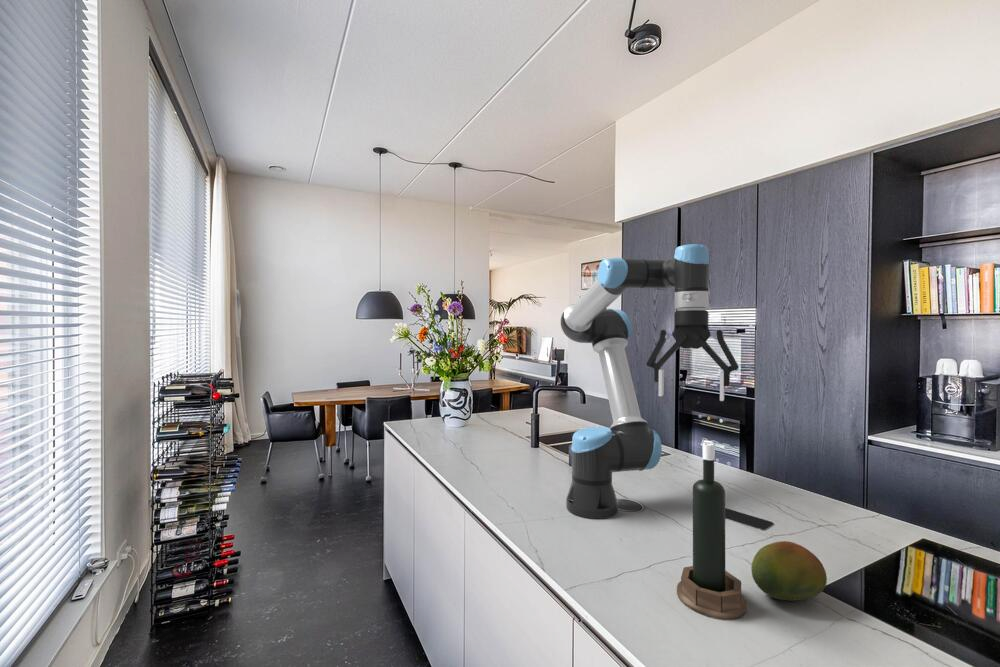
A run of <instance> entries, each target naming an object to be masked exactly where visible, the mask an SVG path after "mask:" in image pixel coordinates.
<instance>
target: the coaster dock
mask: <svg viewBox="0 0 1000 667" xmlns="http://www.w3.org/2000/svg"><path fill="white" fill-rule="evenodd" d="M676 595H677V597H678V599H679V601H680V602H681V603H682V604H683V605H684V606H686V607H687V608H688V609H689V610H691V611H694V612H695V613H697V614H700V615H702V616H705V617H709V618H713V619H718V620H735V619H740V618H742V617H743V616H745V615H746V614H747V611H748V601H747V599H746V597H745V596H744V595H743V593H742V581H741V580H740V579H738V577H736V576H734V574H733V575H732V573H730V572H728V571H727V570H725V591H724V592H716V591H712V590H708V589H704V588H700V587H699V586H697V585H696V584H695V583H693V565H690V566H684V567H683V569H682V572H681V576H680V581H679V582H678V583H677V585H676Z"/></svg>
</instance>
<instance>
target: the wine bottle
mask: <svg viewBox="0 0 1000 667" xmlns="http://www.w3.org/2000/svg"><path fill="white" fill-rule="evenodd" d="M715 446H716V445H715V443H714V441H713V440H711V441H710V440H703V443H702V477H703V478H702V479H699V480H696V481H695V482H694V484H693V486H692V566H693V583H695V584H696V585H697V586H699V587H700V588H704V589H708V590H712V591H716V592H724V591H725V571H726V519H725V508H726V490H725V488H724V486H723V485H722V484H721V483H720V482H718V481H716V480H715V458H716V455H715V450H716V447H715Z"/></svg>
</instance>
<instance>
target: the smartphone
mask: <svg viewBox="0 0 1000 667" xmlns="http://www.w3.org/2000/svg"><path fill="white" fill-rule="evenodd" d="M725 520H728V521H730V522H733V523H737V524H740V525H744V526H745V527H749V528H752V529H755V530H759V531H764V532H765V531H767V530H768V529H770V528H771V527H772V526H774V525H775V523H774V522H772V521H770V520H767V519H764V518H760V517H757V516H754V515H750V514H746V513H743V512H740V511H736V510H733V509H730V508H727V507H725Z"/></svg>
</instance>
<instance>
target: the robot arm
mask: <svg viewBox="0 0 1000 667" xmlns="http://www.w3.org/2000/svg"><path fill="white" fill-rule="evenodd" d="M709 256H710V255H709V247H708V246H707V245H705V244H697V243H695V244H694V243H693V244H692V243H691V244H684V245H680V246H677V247H675V249H674V256H673V257H672V258H668V259H652V258H651V259H650V258H647V259H645V258H626V257H625V258H622V257H611V258H608V257H607V258H605V259H602V260H601V261H600V263H599V267H598V269H597V279H596V280H595V282H594V283H593V284H591V286H590V287H589V288H588V289H587V290H586V291H585V292H584V294H583V295H581V297H580V298H578V300H577V301H576V303H573V304H570V305H568V306H567V307H566V308H565V310H564V311H563V312H562V314H561V316H560V328H561V330H562V332H563V334H564V335H565V337H567V338H568V339H570V340H571V341H573V342H575V343H580V344H591V345H592V351H593V352H595V353H596V354H598V357H599V361H600V365H601V370H602V375H603V380H604V384H605V389H606V393H607V398H608V403H609V407H610V414H611V416H612V424H611V425H610V427H606V426H590V427H583V428H581V429H579V430H576V431H575V432H574V433H573V435H572V436H571V437H572V441H571V447H570V448H571V478H572V479H571V484H570V486H569V488H568V489H569V490H568V493H567V496H566V499H565V501H566V502H565V507H566V509H567V510H568V512H570V513H572V514H573V515H575V516H578V517H582V518H588V519H606V518H607V519H608V518H611V517H613V516H616V515H617V514H618V513H619V501H618V498H617V494H616V492H615V488H614V486H613V473H618V472H630V471H632V472H633V471H639V472H640V471H641V472H642V471H644V470H645V471H646V470H652V469H654V468H656V467H657V465H658V464H659V462H660V460H661V456H662V450H663V449H662V448H663V447H662V440H661V437H660V435H659V434H658V432H657V431H656V430H654V429H651V428H649V427H650V426H649V422H648V421H647V420H645V419H643V418H642V416H641V412H640V411H641V410H640V407H639V404H638V399H637V395H636V390H635V387H634V382H633V379H632V374H631V371H630V370H631V369H630V366H629V361H628V357H627V354H626V347H627V346H628V344H629V342H628V341H629V340H630V339H631V336H632V331H631V330H632V323H631V320H630V317H629V315H627V313H626V312H625V311H623V310H621V309H614V308H608V307H610V305H611V304H612V303H613V302H615V301H616V300H617V299H618V298H619V297H620V296H621V295H622V294H623V293H625V292H626V291H627V290H628V289H653V290H656V291H666V290H668V289H674V309H676V311H675V312H674V315H673V316H674V317H673V318H674V326H673V330H667V329H662V330H660V335H659V339H658V341H657V342H656V344H655V347H654V348H653V351H652V352H651V355H650V356H649V358H648V360H647V362H646V366H647V367H649V368H652V369H653V372H654V374H653V375H654V377H653V378H654V382H655V383H658V397H663V396H664V394H665V392H664V390H665V386H664V384H665V380H664V379H665V369H664V368H661V367H663V366H664V365H665V363H667V361H669V359H670V358H671V357H672V356H673V355H674V353H676V352H677V350H679V348H682V349H694V350H696V349H700V348H702V349H703V351H705V352H706V354H708V356H710V358H711V359H712V360H713V362H715V364H717V365H718V366H719V368H721V370H722V371H720V372H719V401H720V402H724V400H725V387H729V386H730V384H731V380H730V379H731V372H734V371H738V370H739V364H738V363H737V361H736V359H735V357H734V355H733V353H732V351H731V350H730V348H729V346H728V344H727V342H726V341H725V339H724V331H723V330H722V329H718V330H712V331H710V329H709V311H708V310H706V309H709V296H710V295H709V287H710V285H709V284H710V282H709V281H710V279H709V278H710V276H709V273H710V272H709V271H710V259H709V258H710V257H709ZM671 336H672V337H673V339H674V340H675V342H674V344H673V345H672V346H670V348H669V349H668V350H667V351H666V353H664V355H662V357H660V359H659V360H658V361H657V362H656V360H657V358H658V356H659V355H660V353H661V351H662V349H663V347H664V345H665V343H666V341H667V340H668V339H670V337H671ZM710 337H713V339H714V340H716V341H717V342H718V344H719V347H720V348H721V350H722V352H723V354H724V356H725V358H726V359H727V361H728V364H730V365H728V364H726V362H725V361H724V360H723V359H722V358H721V357H720V355H718V353H717V352H715V350H714V349H713V348H712V347H711V346H710V345H709V343H708V342H707V341H708V340H709V338H710Z"/></svg>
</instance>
